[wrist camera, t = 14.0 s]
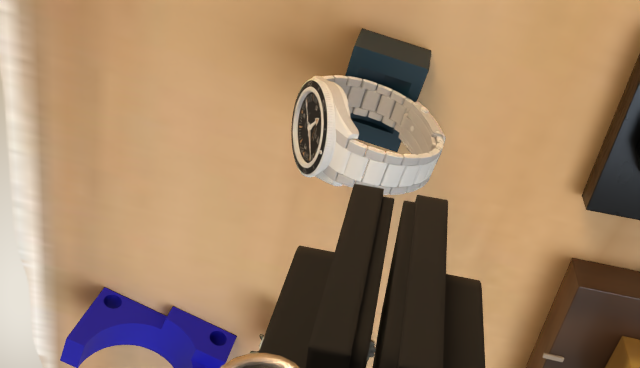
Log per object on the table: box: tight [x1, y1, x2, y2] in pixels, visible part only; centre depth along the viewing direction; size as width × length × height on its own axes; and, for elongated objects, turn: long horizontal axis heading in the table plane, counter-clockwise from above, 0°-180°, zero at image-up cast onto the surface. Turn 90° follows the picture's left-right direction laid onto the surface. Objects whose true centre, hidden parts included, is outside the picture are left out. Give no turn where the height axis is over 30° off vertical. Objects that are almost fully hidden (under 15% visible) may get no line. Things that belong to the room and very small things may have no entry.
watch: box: [292, 28, 446, 195], centre depth 33 cm, size 6×8×11 cm
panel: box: [526, 258, 640, 368], centre depth 44 cm, size 13×11×3 cm
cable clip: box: [60, 287, 237, 368], centre depth 51 cm, size 12×4×6 cm, turn 66°
